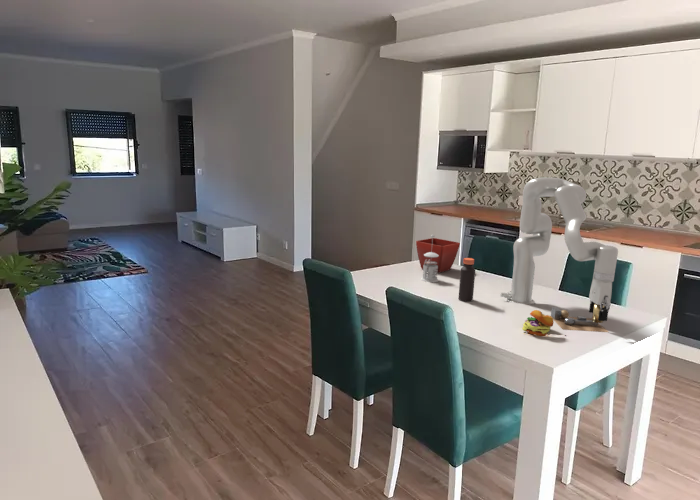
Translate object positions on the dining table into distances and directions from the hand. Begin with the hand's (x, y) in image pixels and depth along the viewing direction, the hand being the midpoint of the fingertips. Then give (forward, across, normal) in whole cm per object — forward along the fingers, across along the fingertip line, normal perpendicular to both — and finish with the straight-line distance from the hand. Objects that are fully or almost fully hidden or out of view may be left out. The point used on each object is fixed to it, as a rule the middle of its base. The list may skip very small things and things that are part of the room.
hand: (597, 316), depth 208 cm
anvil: (+4, -7, -14) cm, 16 cm away
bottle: (+6, -31, -49) cm, 58 cm away
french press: (+6, -65, -64) cm, 91 cm away
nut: (+4, -7, -11) cm, 13 cm away
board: (+5, -1, -7) cm, 9 cm away
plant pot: (+7, -91, -58) cm, 108 cm away
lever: (+4, 0, -5) cm, 7 cm away
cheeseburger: (+6, +9, -26) cm, 29 cm away
